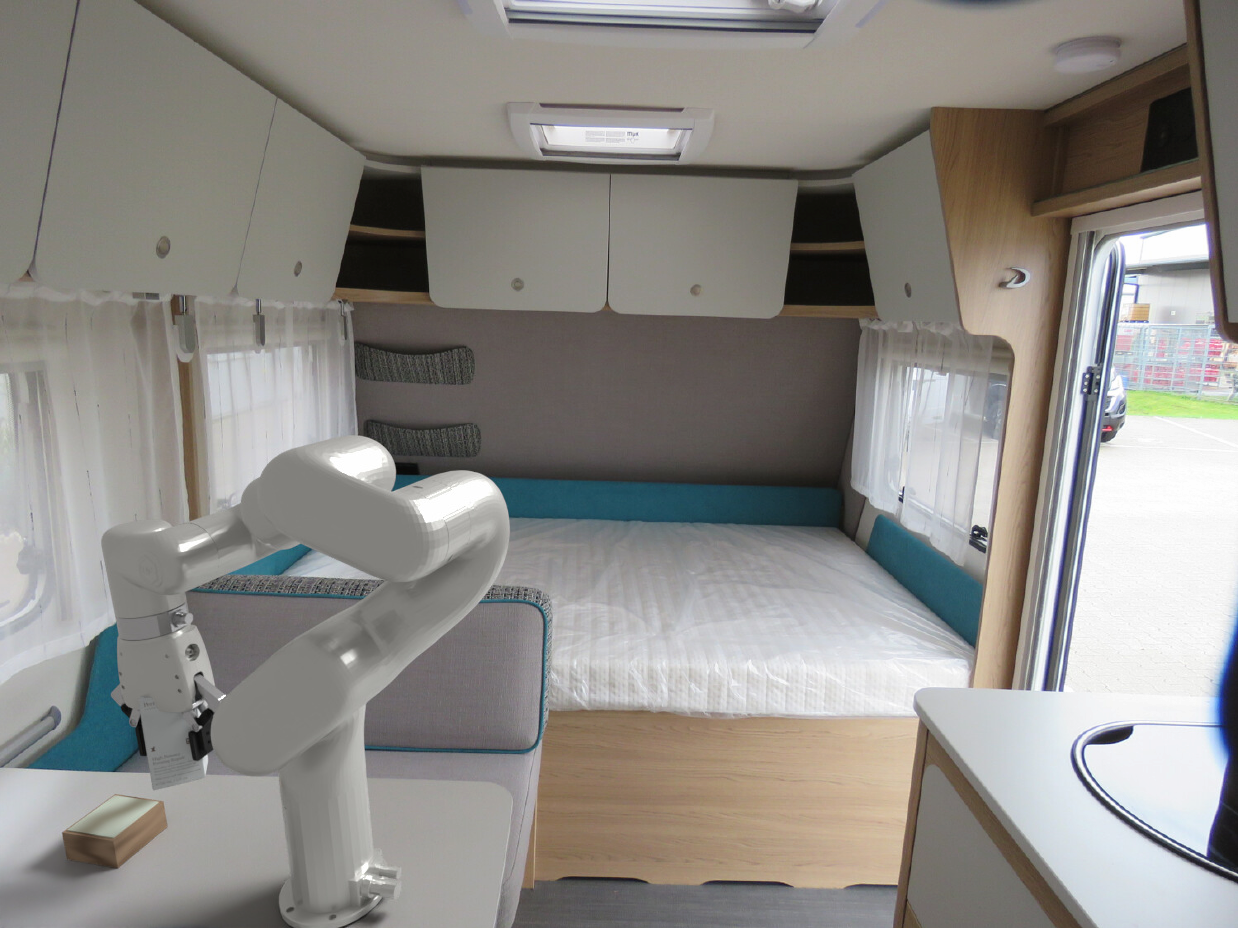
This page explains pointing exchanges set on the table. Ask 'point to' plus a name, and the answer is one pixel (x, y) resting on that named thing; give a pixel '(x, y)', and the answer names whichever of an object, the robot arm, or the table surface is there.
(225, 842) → the table surface
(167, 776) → the skincare box
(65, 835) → the brown square block
